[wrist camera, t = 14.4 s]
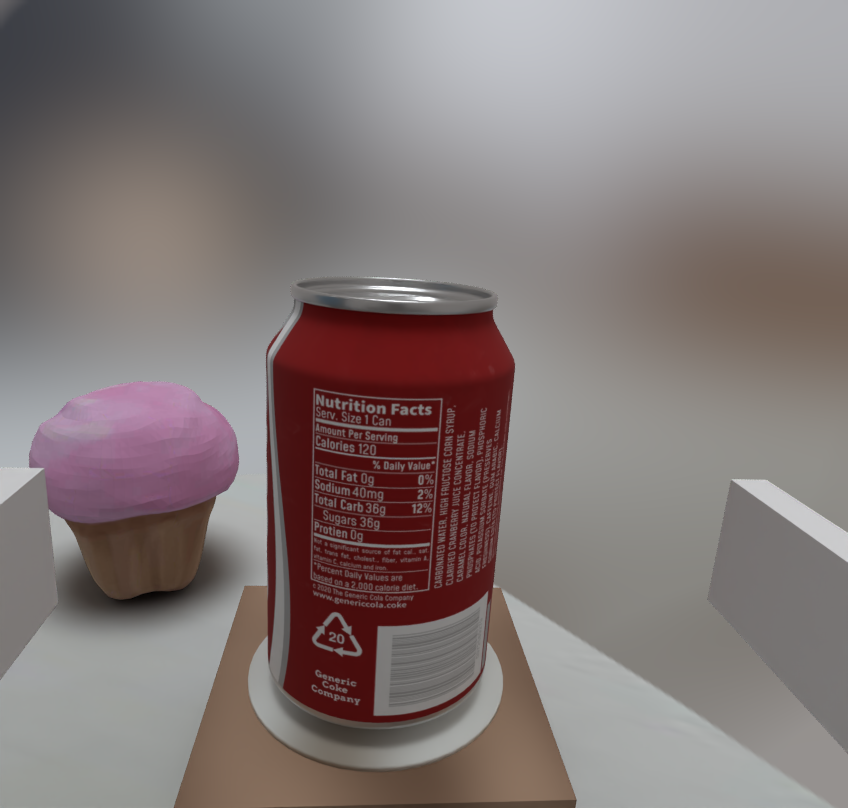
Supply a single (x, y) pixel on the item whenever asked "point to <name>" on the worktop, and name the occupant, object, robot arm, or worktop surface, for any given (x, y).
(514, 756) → the plinth
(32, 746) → the worktop surface
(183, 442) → the cupcake
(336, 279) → the soda can
